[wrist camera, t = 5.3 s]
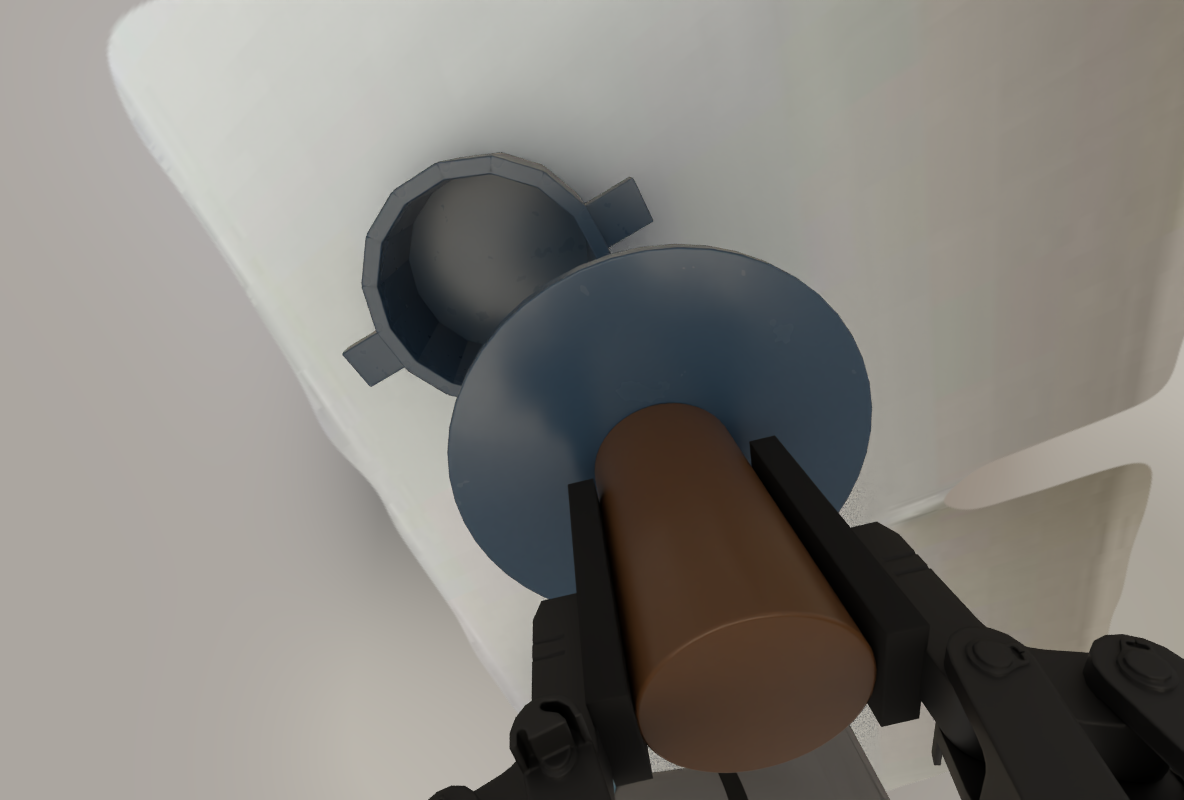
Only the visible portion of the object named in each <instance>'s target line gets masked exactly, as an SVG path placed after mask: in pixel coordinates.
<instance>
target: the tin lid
mask: <svg viewBox="0 0 1184 800" xmlns="http://www.w3.org/2000/svg"><path fill="white" fill-rule="evenodd" d="M871 417H872V402H871V392H870V383H869V379H868V375H867V372H866V368H865V364H864V361H863V358H862V355H861V353H860V351H859V349H858V347H857V344H856V342H855V340H854V338H853V336H852V334H851V333H850V331H849V330H848V328H847V327H846V325H845V324H844V322H843V321H842V319H841V318H840V317H839V315H838V314H837V313H836V312H835V311H834V310H833V309H832V307H831V306H830V305H829V304H828V303H827V302H826V301H825V300H824V299H823V298H822V297H821V296H820V295H819V294H818V293H816V292H815V291H814V290H812V289H811V288H810V287H808V286H807V285H806V284H804V283H803V282H802V281H800V280H799V279H798V278H796V277H794V276H792V275H790V274H789V273H787V272H785V271H783V270H781V269H779V268H777V267H775V266H773V265H771V264H769V263H767V262H766V261H763V260H760V259H757V258H755V257H752V256H749V255H746V254H743V253H740V252H737V251H733V250H728V249H722V248H717V247H712V246H706V245H686V244H668V245H657V246H647V247H639V248H635V249H631V250H626V251H622V252H617V253H613V254H609V255H606V256H604V257H601V258H598V259H596V260H593V261H590V262H588V263H585V264H582V265H580V266H577V267H576V268H574V269H572V270H570V271H568V272H566V273H564V274H562V275H561V276H559V277H557V278H555V279H553V280H551V281H549V282H548V283H547V284H545V285H544V286H543V287H541V288H540V289H538V290H537V291H536V292H534V293H533V294H531V295H530V296H529V297H527V298H526V299H524V300H523V301H522V302H521V303H520V304H519V305H518V306H517V307H516V308H515V309H514V310H513V311H512V312H511V313H509V314H508V315H507V316H506V317H505V318H504V319H503V320H502V321H501V322H500V324H499V325H498V326H497V327H496V329H495V330H494V331H493V332H492V334H491V335H490V336H489V337H488V339H487V340H486V341H485V342H484V344H483V345H482V347H481V348H480V350H479V352H478V353H477V355H476V357H475V358H474V360H473V362H472V364H471V365H470V367H469V369H468V371H467V373H466V376H465V378H464V381H463V383H462V386H461V388H460V391H459V393H458V396H457V399H456V402H455V406H454V410H453V414H452V419H451V423H450V427H449V439H448V451H447V454H448V467H449V478H450V482H451V486H452V490H453V494H454V499H455V502H456V504H457V506H458V509H459V511H460V514H461V516H462V519H463V521H464V523H465V525H466V526H467V528H468V530H469V531H470V533H471V535H472V536H473V538H474V540H475V541H476V542H477V544H478V545H479V546H480V547H481V549H482V550H483V551H484V552H485V553H486V555H487V556H488V557H489V558H490V559H491V560H492V561H493V562H494V563H495V564H496V565H497V566H498V567H499V568H500V569H502V570H503V571H504V572H505V573H506V574H507V575H509V576H510V577H511V578H513V579H514V580H516V581H517V582H518V583H520V584H521V585H523V586H524V587H526V588H528V589H530V590H532V591H533V592H535V593H537V594H539V595H541V596H543V597H545V598H547V599H553V598H557V597H561V596H566V595H570V594H574V593H576V581H575V569H574V557H573V544H572V532H571V520H570V508H569V495H568V484H571V483H576V482H580V481H584V480H588V479H592V478H593V480H594V484H595V487H596V491H597V495H598V499H599V502H600V508H601V514H602V520H603V526H604V532H605V538H606V544H607V549H608V555H609V561H610V567H611V573H612V579H613V585H614V591H615V597H616V603H617V609H618V615H619V621H620V627H621V633H622V639H623V645H624V651H625V657H626V663H627V669H628V675H629V681H630V687H631V693H632V699H633V705H634V711H635V715H636V719H637V723H638V726H639V729H640V733H641V736H642V738H643V740H644V741H645V743H646V744H647V745H648V746H649V748H650V749H652V750H653V751H654V752H655V753H656V754H657V755H659V756H660V757H662V758H664V759H665V760H667V761H669V762H671V763H673V764H676V765H678V766H681V767H684V768H688V769H692V770H697V771H703V772H713V773H734V772H745V771H752V770H758V769H763V768H767V767H772V766H775V765H778V764H782V763H785V762H788V761H790V760H793V759H796V758H798V757H801V756H803V755H805V754H807V753H809V752H811V751H813V750H815V749H817V748H819V747H820V746H822V745H824V744H825V743H827V742H828V741H830V740H831V739H833V738H834V737H836V736H837V735H838V734H839V733H841V732H842V731H843V730H844V729H846V728H847V727H848V726H849V725H850V724H851V723H852V722H853V721H854V720H855V719H856V718H857V716H858V715H859V714H860V713H861V711H862V710H863V709H864V707H865V706H866V704H867V702H868V701H869V699H870V697H871V694H872V692H873V690H874V686H875V682H876V673H877V669H876V661H875V656H874V654H873V651H872V648H871V646H870V645H869V643H868V642H867V640H866V639H865V637H864V636H863V634H862V633H861V631H860V630H859V628H858V627H857V625H856V624H855V622H854V621H853V619H852V617H851V616H850V614H849V613H848V611H847V610H846V608H845V607H844V605H843V604H842V602H841V601H840V599H839V598H838V596H837V595H836V593H835V592H834V590H833V589H832V587H831V586H830V584H829V583H828V581H827V580H826V578H825V577H824V575H823V574H822V572H821V571H820V569H819V568H818V566H817V565H816V563H815V562H814V560H813V559H812V557H811V556H810V554H809V553H808V551H807V550H806V548H805V547H804V545H803V544H802V542H801V540H800V539H799V537H798V536H797V534H796V533H795V531H794V530H793V528H792V527H791V525H790V524H789V522H788V521H787V519H786V518H785V516H784V515H783V513H782V512H781V510H780V509H779V507H778V506H777V504H776V503H775V501H774V500H773V498H772V497H771V495H770V494H769V492H768V491H767V489H766V488H765V486H764V485H763V483H762V482H761V480H760V479H759V477H758V476H757V474H756V473H755V471H754V470H753V468H752V465H751V455H750V444H749V441H753V440H757V439H761V438H766V437H770V436H774V435H775V436H776V437H777V438H778V440H779V441H780V442H781V443H782V444H783V446H784V447H785V448H786V449H787V451H788V452H789V453H790V454H791V455H792V457H793V458H794V459H795V460H796V462H797V463H798V464H799V465H800V466H801V468H802V469H803V470H804V471H805V473H806V474H807V475H808V476H809V478H810V479H811V480H812V481H813V482H814V484H815V485H816V486H817V487H818V489H819V490H820V491H821V492H822V493H823V495H824V496H825V497H826V498H827V500H828V501H829V502H830V503H831V504H832V506H833V507H834V508H835V509H836V511H837V512H838V513H839V511H840V510H841V508H842V506H843V505H844V503H845V502H846V500H847V499H848V497H849V495H850V493H851V491H852V489H853V487H854V485H855V483H856V481H857V479H858V477H859V474H860V471H861V468H862V465H863V462H864V459H865V456H866V453H867V448H868V443H869V437H870V432H871Z"/></svg>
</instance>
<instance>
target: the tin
mask: <svg viewBox="0 0 1184 800" xmlns="http://www.w3.org/2000/svg"><path fill="white" fill-rule="evenodd" d="M651 222H653V219H652V217H651V214H650V212H649V210H648V208H647V206H646V204H645V202H644V200H643V198H642V195H641V193H640V191H639V189H638V187H637V185H636V183H635V181H634V179H633V178H632V177H628V178H626V179H625V180H623V181H621V182H620V183H618V184H617V185H615V186H613V187H612V188H610V189H608V190H607V191H605V192H603V193H602V194H600V195H598V196H597V197H595V198H593V199H592V200H590V201H588V202H587V203H585V204H584V203H583V201H582V200H581V198H580V197H579V196H578V194H577V193H576V192H575V191H574V190H573V189H571V188H570V187H569V186H568V185H567V184H565V183H564V182H563V181H562V180H561V179H560V178H558V177H557V176H556V175H555V174H553V173H552V172H551V171H550V170H549V169H547V168H546V167H545V166H543V165H542V164H538V163H535V162H532V161H528V160H525V159H523V158H519V157H515V156H512V155H509V154H505V153H502V152H501V153H500V152H498V153H491V154H483V155H475V156H468V157H460V158H455V159H450V160H445V161H440V162H437V163H435V164H433V165H431V166H430V167H428V168H427V169H425V170H424V171H422V172H421V173H419V174H418V175H416V176H415V177H413V178H412V179H410V180H408V181H407V182H405V183H404V184H402V185H401V186H399V187H398V188H396V189H395V190H393V192H392V193H391V194H390V196H389V197H388V199H387V201H386V202H385V204H384V206H383V207H382V209H381V211H380V213H379V214H378V216H377V218H376V219H375V221H374V223H373V224H372V226H371V228H370V229H369V231H368V233H367V236H366V240H365V251H364V262H363V273H362V289H363V292H364V295H365V299H366V302H367V305H368V308H369V311H370V314H371V317H372V320H373V323H374V326H375V329H376V331H374V332H373V333H371V334H369V335H368V336H366V337H364V338H363V339H361V340H359V341H358V342H356V343H354V344H353V345H351V346H350V347H348V348H347V349H346V350H345V351H344V352H343V356H344V357H345V358H346V359H347V361H348V362H349V363H350V364H351V365H352V366H353V367H354V369H355V370H356V371H357V372H358V373H359V374H360V376H361V377H362V378H363V379H364V380H365V381H366V382H367V384H368V385H369V386H370V387H372V386H374V385H375V384H377V383H379V382H380V381H382V380H384V379H386V378H387V377H389V376H391V375H392V374H394V373H396V372H397V371H399V370H401V369H403V368H404V367H405V368H406V370H408V371H409V372H410V373H412V374H414V375H415V376H417V377H419V378H420V379H422V380H424V381H425V382H427V383H429V384H430V385H432V386H434V387H435V388H437V389H439V390H440V391H442V392H444V393H445V394H448V395H450V396H455V397H457V396H458V393H459V391H460V388H461V386H462V383H463V381H464V378H465V376H466V373H467V371H468V369H469V367H470V365H471V364H472V362H473V360H474V358H475V357H476V355H477V353H478V352H479V350H480V348H481V347H482V345H483V344H484V342H485V341H486V340H487V339H488V337H489V336H490V335H491V334H492V332H493V331H494V330H495V329H496V327H497V326H498V325H499V324H500V322H501V321H502V320H503V319H504V318H505V317H506V316H507V315H508V314H509V313H511V312H512V311H513V310H514V309H515V308H516V307H517V306H518V305H519V304H520V303H521V302H522V301H523V300H524V299H526V298H527V297H529V296H530V295H531V294H533V293H534V292H536V291H537V290H538V289H540V288H541V287H543V286H544V285H545V284H547V283H548V282H549V281H551V280H553V279H555V278H557V277H559V276H561V275H562V274H564V273H566V272H568V271H570V270H572V269H574V268H576V267H577V266H580V265H582V264H585V263H588V262H590V261H593V260H596V259H598V258H601V257H604V256H606V255H609V254H611V253H610V250H609V247H611V246H612V245H614V244H616V243H617V242H619V241H621V240H623V239H624V238H626V237H628V236H629V235H631V234H633V233H634V232H636V231H638V230H640V229H641V228H643V227H645V226H646V225H648V224H650V223H651Z"/></svg>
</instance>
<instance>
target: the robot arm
mask: <svg viewBox="0 0 1184 800" xmlns="http://www.w3.org/2000/svg"><path fill="white" fill-rule="evenodd" d="M749 444H750V455H751V465H752V468H753V470H754V471H755V473H756V474H757V476H758V477H759V479H760V480H761V482H762V483H763V485H764V486H765V488H766V489H767V491H768V492H769V494H770V495H771V497H772V498H773V500H774V501H775V503H776V504H777V506H778V507H779V509H780V510H781V512H782V513H783V515H784V516H785V518H786V519H787V521H788V522H789V524H790V525H791V527H792V528H793V530H794V531H795V533H796V534H797V536H798V537H799V539H800V540H801V542H802V544H803V545H804V547H805V548H806V550H807V551H808V553H809V554H810V556H811V557H812V559H813V560H814V562H815V563H816V565H817V566H818V568H819V569H820V571H821V572H822V574H823V575H824V577H825V578H826V580H827V581H828V583H829V584H830V586H831V587H832V589H833V590H834V592H835V593H836V595H837V596H838V598H839V599H840V601H841V602H842V604H843V605H844V607H845V608H846V610H847V611H848V613H849V614H850V616H851V617H852V619H853V621H854V622H855V624H856V625H857V627H858V628H859V630H860V631H861V633H862V634H863V636H864V637H865V639H866V640H867V642H868V643H869V645H870V646H871V648H872V651H873V654H874V656H875V661H876V669H877V673H876V682H875V686H874V690H873V692H872V694H871V697H870V699H869V701H868V702H867V704H868V705H869V707H870V709H871V710H872V712H873V714H874V715H875V717H876V719H877V721H878V722H879V724H880V726H881V727H883V726H888V725H892V724H896V723H901V722H905V721H910V720H914V719H918V718H919V715H920V706H921V701H922V703H923V704H924V705H925V707H926V708H927V710H928V711H929V713H930V714H931V716H932V717H933V719H934V720H935V721H936V724H935V731H934V738H933V745H932V757H933V762H934V765H941V759H942V755H943V757H944V759H945V762H946V764H947V767H948V769H949V771H950V774H951V776H952V778H953V781H954V783H955V786H956V788H957V790H958V793H959V795H960V798H961V800H1184V659H1182V658H1181V657H1179V656H1178V655H1176V654H1175V653H1173V652H1172V651H1170V650H1169V649H1167V648H1165V647H1163V646H1161V645H1158V644H1156V643H1153V642H1151V641H1148V640H1146V639H1143V638H1138V637H1133V636H1129V635H1124V634H1118V635H1105V636H1103V637H1101V638H1099V639H1097V640H1095V641H1094V642H1093V644H1092V647H1091V649H1090V652H1089V653H1084V652H1070V651H1056V650H1043V649H1036V648H1030V647H1026V646H1024V645H1023V644H1021V643H1020V642H1018V641H1017V640H1015V639H1014V638H1012V637H1011V636H1009V635H1007V634H1005V633H1002V632H999V631H997V630H994V629H991V628H987V627H986V626H985V625H983V624H982V623H981V622H980V621H979V620H978V619H977V618H976V617H975V616H974V615H973V614H972V612H971V611H970V610H969V609H968V608H967V607H966V606H965V605H964V604H963V603H962V602H961V601H960V600H959V598H958V597H957V596H956V595H955V594H954V593H953V592H952V591H951V590H950V589H949V588H948V587H947V586H946V584H945V583H944V582H943V581H942V580H941V579H940V578H939V577H938V576H937V575H936V574H935V573H934V572H933V570H932V569H931V568H930V569H929V568H928V566H927V564H926V563H925V562H924V561H923V560H922V559H921V558H920V556H919V555H918V554H917V555H916V554H915V552H914V550H913V549H912V548H911V547H910V546H909V545H908V544H907V542H906V541H905V540H904V539H903V538H902V537H901V536H900V535H899V534H898V533H896V532H894V531H892V530H891V529H889V528H887V527H885V526H884V525H882V524H880V523H878V522H873V523H869V524H864V525H860V526H856V527H851V528H850V526H849V525H848V524H847V523H846V522H845V520H844V519H843V518H842V517H841V515H840V514H839V513H838V512H837V511H836V509H835V508H834V507H833V506H832V504H831V503H830V502H829V501H828V500H827V498H826V497H825V496H824V495H823V493H822V492H821V491H820V490H819V489H818V487H817V486H816V485H815V484H814V482H813V481H812V480H811V479H810V478H809V476H808V475H807V474H806V473H805V471H804V470H803V469H802V468H801V466H800V465H799V464H798V463H797V462H796V460H795V459H794V458H793V457H792V455H791V454H790V453H789V452H788V451H787V449H786V448H785V447H784V446H783V444H782V443H781V442H780V441H779V440H778V438H777V437H776V436H775V435H774V436H770V437H766V438H761V439H757V440H753V441H749ZM568 495H569V508H570V520H571V532H572V544H573V557H574V569H575V581H576V593H574V594H570V595H566V596H561V597H557V598H553V599H548V600H544V601H541V603H540V606H539V608H538V610H537V612H536V615H535V617H534V619H533V647H532V658H533V662H532V701H531V702H530V703H528V704H527V705H525V706H524V708H523V709H522V710H521V711H520V713H519V714H518V715H517V717H516V718H515V720H514V723H513V726H512V728H511V731H510V750H511V752H512V754H513V756H514V758H515V760H516V762H515V763H514V764H513V765H512V766H511V767H510V768H509V769H507V770H506V771H505V772H504V773H502V774H501V775H499V776H498V777H496V778H495V779H493V780H491V781H490V782H488V783H487V784H485V785H483V786H482V787H480V788H479V789H477V790H475V791H472V790H471V789H469V788H467V787H466V786H450V787H447V788H445V789H443V790H440V791H438V792H436V794H435V795H433V796H432V797H431V798H430V799H428V800H890V799H889V797H888V795H887V793H886V791H885V789H884V788H883V786H882V784H881V782H880V780H879V778H878V777H877V775H876V773H875V771H874V769H873V767H872V765H871V764H870V762H869V760H868V758H867V756H866V754H865V752H864V751H863V749H862V747H861V745H860V743H859V741H858V739H857V738H856V736H855V734H854V732H853V730H852V729H851V727H850V725H849V726H848V727H847V728H846V729H844V730H843V731H842V732H841V733H839V734H838V735H837V736H836V737H834V738H833V739H831V740H830V741H828V742H827V743H825V744H824V745H822V746H820V747H819V748H817V749H815V750H813V751H811V752H809V753H807V754H805V755H803V756H801V757H798V758H796V759H793V760H790V761H788V762H785V763H782V764H778V765H775V766H772V767H767V768H763V769H758V770H752V771H745V772H734V773H713V772H703V771H697V770H692V769H688V768H684V769H677V770H669V771H661V772H654V773H652V770H651V764H650V758H649V753H648V747H647V744H646V743H645V741H644V740H643V738H642V736H641V733H640V729H639V726H638V723H637V719H636V715H635V711H634V705H633V699H632V693H631V687H630V681H629V675H628V669H627V663H626V657H625V651H624V645H623V639H622V633H621V627H620V621H619V615H618V609H617V603H616V597H615V591H614V585H613V579H612V573H611V567H610V561H609V555H608V549H607V544H606V538H605V532H604V526H603V520H602V514H601V508H600V502H599V499H598V495H597V491H596V487H595V484H594V480H593V478H592V479H588V480H584V481H580V482H576V483H571V484H568Z"/></svg>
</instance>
